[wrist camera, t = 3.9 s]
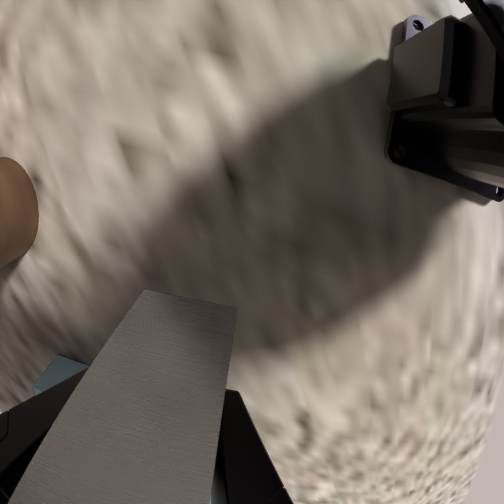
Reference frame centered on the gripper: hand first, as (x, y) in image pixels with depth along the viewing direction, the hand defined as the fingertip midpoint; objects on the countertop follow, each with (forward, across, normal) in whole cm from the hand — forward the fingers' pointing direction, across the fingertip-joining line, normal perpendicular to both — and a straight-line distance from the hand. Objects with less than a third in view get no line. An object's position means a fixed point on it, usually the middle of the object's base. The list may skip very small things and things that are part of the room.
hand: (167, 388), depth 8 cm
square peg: (+3, 0, 0) cm, 3 cm away
